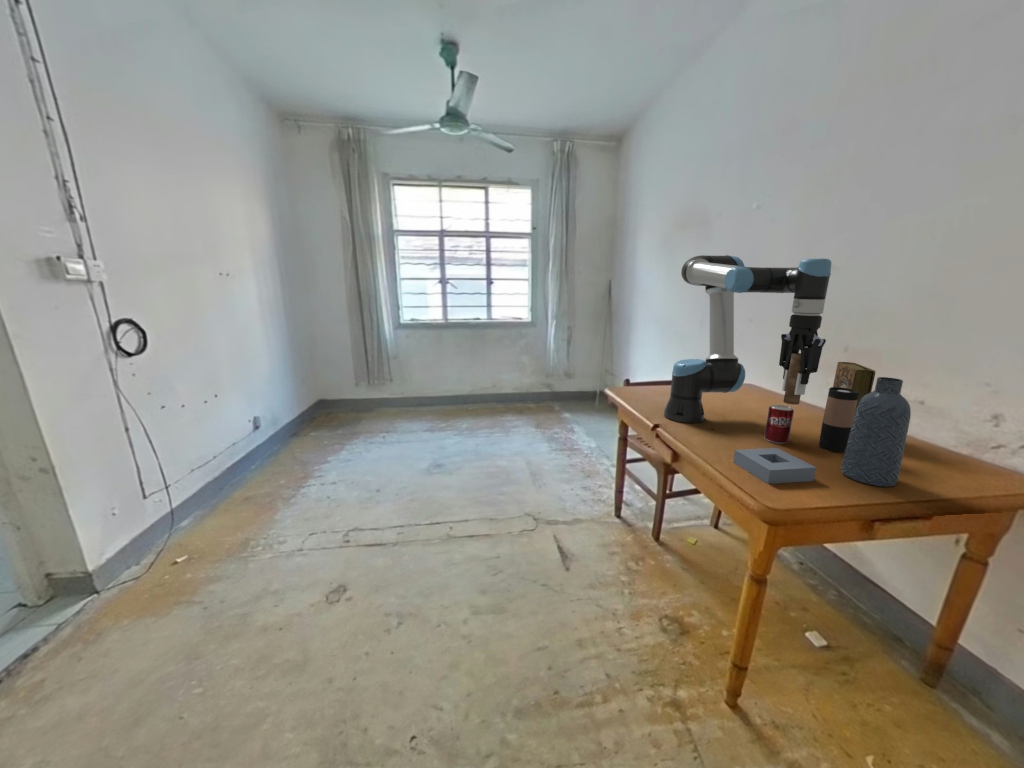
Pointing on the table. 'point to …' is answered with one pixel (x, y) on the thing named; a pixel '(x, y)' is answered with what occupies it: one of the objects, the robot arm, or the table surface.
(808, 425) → the table surface
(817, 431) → the table surface
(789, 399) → the peg
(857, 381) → the book
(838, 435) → the travel mug
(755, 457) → the socket block
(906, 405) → the vase
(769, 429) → the soda can
